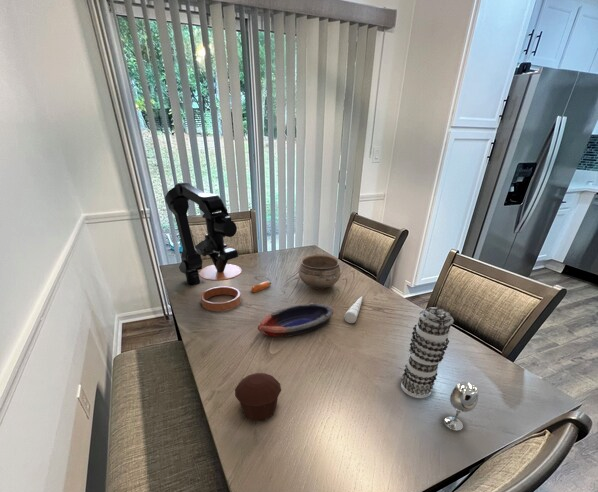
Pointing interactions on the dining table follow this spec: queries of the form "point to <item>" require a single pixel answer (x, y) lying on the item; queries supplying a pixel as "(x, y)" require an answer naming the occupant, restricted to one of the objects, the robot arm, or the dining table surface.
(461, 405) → the wineglass
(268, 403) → the muffin
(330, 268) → the cooking pot
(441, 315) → the decorative candle
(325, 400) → the dining table surface
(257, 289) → the carrot
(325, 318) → the dish
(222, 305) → the faceted terracotta bowl
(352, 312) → the unicorn horn
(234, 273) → the lid
